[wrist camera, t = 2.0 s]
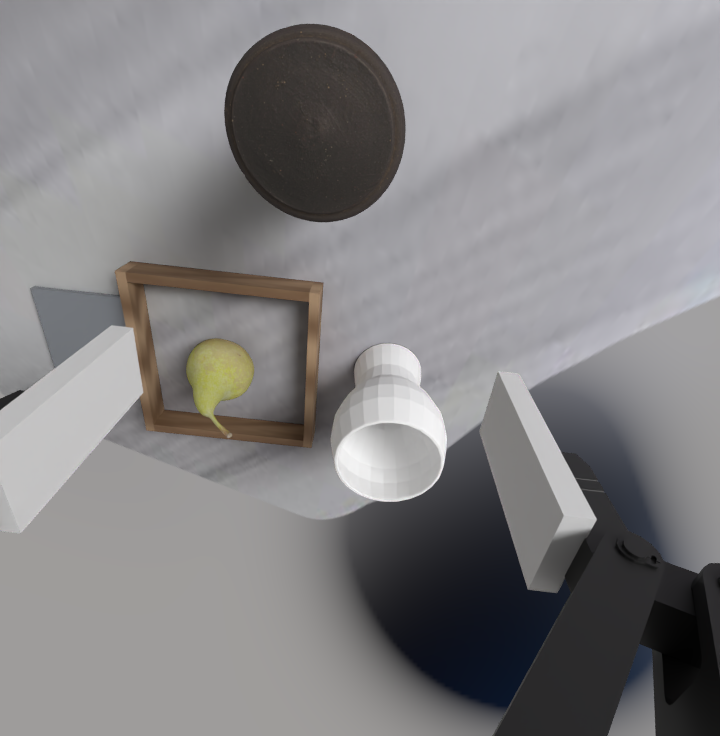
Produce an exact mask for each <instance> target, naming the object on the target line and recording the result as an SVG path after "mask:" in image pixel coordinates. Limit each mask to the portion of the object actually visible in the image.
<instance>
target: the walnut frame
mask: <svg viewBox="0 0 720 736" xmlns="http://www.w3.org/2000/svg"><path fill="white" fill-rule="evenodd" d="M115 274H116V279H117V284H118V289H119V294H120V299H121V304H122V309H123V314H124V320H125V325H126V327H130V328H133V331H134V337H135V343H136V350H137V356H138V362H139V369H140V375H141V381H142V387H143V394H142V395H141V396H140V400H141V405H142V410H143V415H144V420H145V425H146V430H147V431H157V432H166V433H176V434H185V435H195V436H204V437H213V438H223V439H232V440H242V441H251V442H260V443H270V444H279V445H289V446H298V447H307V448H311V447H312V442H313V438H314V433H315V417H316V400H317V383H318V365H319V348H320V331H321V313H322V296H323V283H321V282H312V281H303V280H294V279H285V278H275V277H266V276H257V275H248V274H239V273H230V272H221V271H212V270H203V269H194V268H185V267H176V266H167V265H158V264H149V263H140V262H131V261H130V262H128V263H127V264H125V265H124V266H122V267H120V268H119V269H117V270H116V271H115ZM143 284H150V285H159V286H168V287H177V288H186V289H195V290H205V291H214V292H223V293H232V294H241V295H250V296H259V297H268V298H277V299H286V300H295V301H304V302H309V316H308V340H307V365H306V389H305V414H304V425H302V424H293V423H283V422H274V421H265V420H255V419H246V418H236V417H227V416H218V415H214V416H215V418H216V419H217V421H218V422H219V423H220V424H221V425H222V426H223V427H225V429H226V430H228V431H229V432H230V433H231V434H232V436H231V437H230V438H227V437H226V436H225V435H224V434H223V433H222V432H221V430H220V429H219V428H218V427H217V426H216V425H215V424H214V422H213V421H212V420H211V419H210V418H209V417H206V416H203V415H202V414H199V413H190V412H180V411H171V410H164V405H163V399H162V393H161V387H160V381H159V375H158V369H157V363H156V357H155V351H154V345H153V339H152V333H151V327H150V321H149V315H148V309H147V303H146V297H145V291H144V285H143Z"/></svg>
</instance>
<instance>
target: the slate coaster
mask: <svg viewBox="0 0 720 736" xmlns="http://www.w3.org/2000/svg"><path fill="white" fill-rule="evenodd" d="M30 289H31V292H32V296H33V299H34V302H35V305H36V309H37V312H38V315H39V318H40V321H41V325H42V328H43V331H44V334H45V338H46V341H47V344H48V347H49V351H50V354H51V357H52V360H53V364H54V367H55V368H56V367H57V366H59V365H60V364H61V363H63V362H64V361H65V360H67V359H68V358H69V357H71V356H72V355H73V354H75V353H76V352H77V351H78V350H80V349H81V348H82V347H84V346H85V345H86V344H88V343H89V342H90V341H92V340H93V339H94V338H95V337H97V336H98V335H99V334H101V333H102V332H103V331H105V330H106V329H107V328H109V327H110V326H111V325H113V326H122V327H126V325H125V320H124V314H123V309H122V304H121V299H120V296H118V295H109V294H99V293H90V292H81V291H72V290H63V289H54V288H45V287H36V286H34V287H32V288H30Z"/></svg>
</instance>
